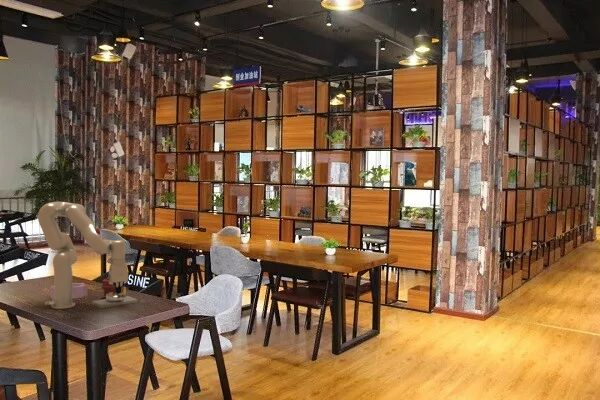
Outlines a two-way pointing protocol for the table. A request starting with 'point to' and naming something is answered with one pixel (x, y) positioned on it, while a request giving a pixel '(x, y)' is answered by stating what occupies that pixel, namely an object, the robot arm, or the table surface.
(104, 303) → the base plate
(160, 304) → the table surface
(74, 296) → the pink rectangular box
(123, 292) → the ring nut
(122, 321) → the table surface
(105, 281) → the mechanical component
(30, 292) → the table surface
